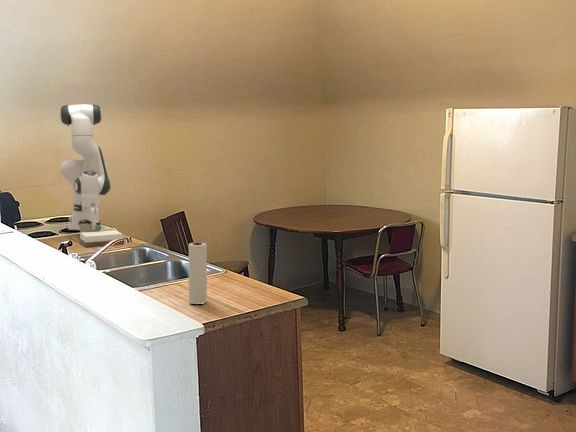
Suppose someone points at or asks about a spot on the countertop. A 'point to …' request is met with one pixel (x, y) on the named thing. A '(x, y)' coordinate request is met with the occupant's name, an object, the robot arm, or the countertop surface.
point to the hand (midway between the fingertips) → (91, 229)
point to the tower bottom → (97, 243)
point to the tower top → (100, 236)
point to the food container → (88, 226)
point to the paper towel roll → (197, 273)
